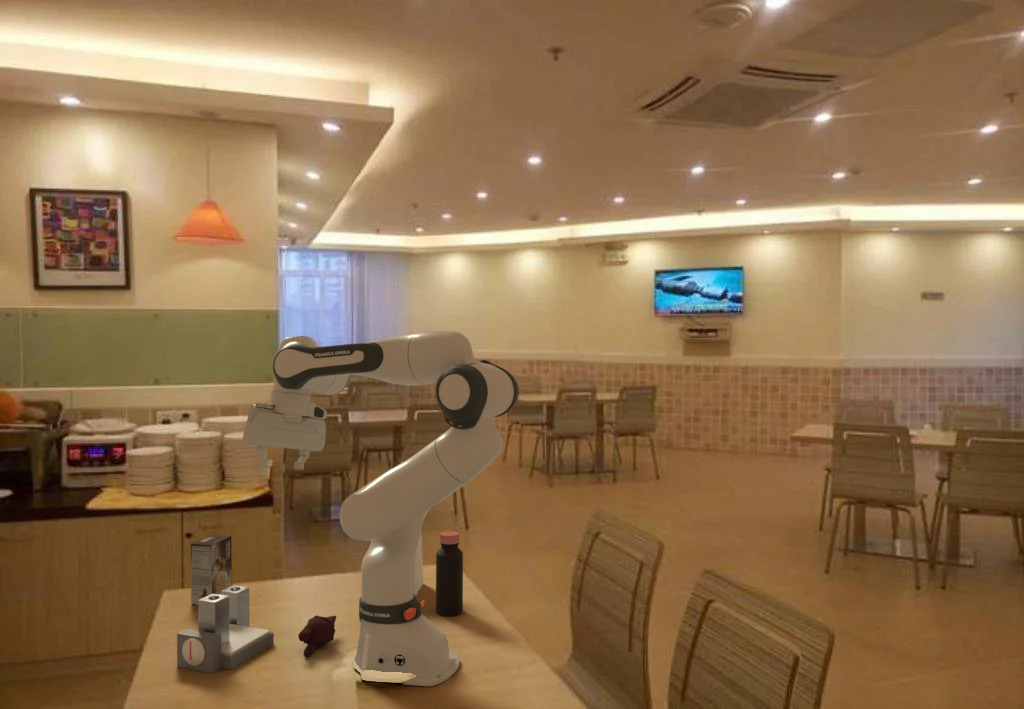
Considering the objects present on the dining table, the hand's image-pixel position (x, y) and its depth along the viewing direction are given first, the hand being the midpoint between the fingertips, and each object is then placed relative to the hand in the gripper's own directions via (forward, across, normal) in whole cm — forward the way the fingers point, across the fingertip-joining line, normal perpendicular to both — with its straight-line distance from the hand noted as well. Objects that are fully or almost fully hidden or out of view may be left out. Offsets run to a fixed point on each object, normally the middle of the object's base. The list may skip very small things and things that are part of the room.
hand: (281, 468), depth 168 cm
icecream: (+39, +12, -5) cm, 41 cm away
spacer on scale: (+38, -6, +7) cm, 39 cm away
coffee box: (+36, +15, +40) cm, 56 cm away
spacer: (+39, +6, +17) cm, 43 cm away
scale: (+41, -3, +8) cm, 42 cm away
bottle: (+33, +45, -16) cm, 58 cm away
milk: (+31, +49, +6) cm, 58 cm away
